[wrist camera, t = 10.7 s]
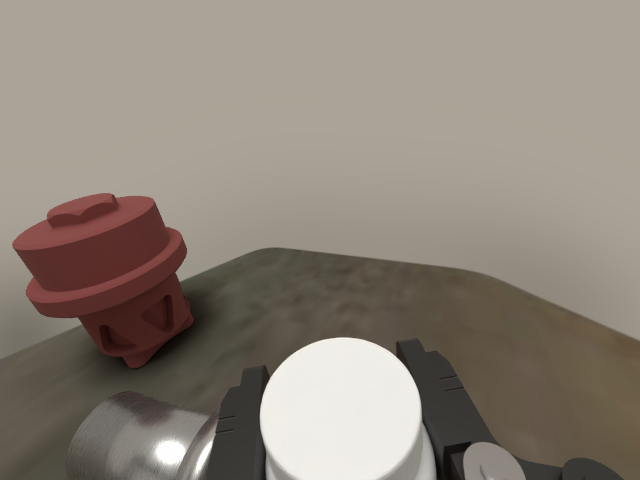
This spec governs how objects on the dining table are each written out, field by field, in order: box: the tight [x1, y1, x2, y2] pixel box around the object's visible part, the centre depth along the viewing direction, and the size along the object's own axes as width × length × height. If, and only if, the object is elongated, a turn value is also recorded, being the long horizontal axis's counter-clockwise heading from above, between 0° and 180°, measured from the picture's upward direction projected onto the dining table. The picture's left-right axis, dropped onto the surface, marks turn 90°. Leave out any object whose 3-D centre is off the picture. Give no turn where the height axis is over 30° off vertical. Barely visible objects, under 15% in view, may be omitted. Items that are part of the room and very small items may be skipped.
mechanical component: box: [12, 193, 194, 368], centre depth 23 cm, size 12×10×10 cm
